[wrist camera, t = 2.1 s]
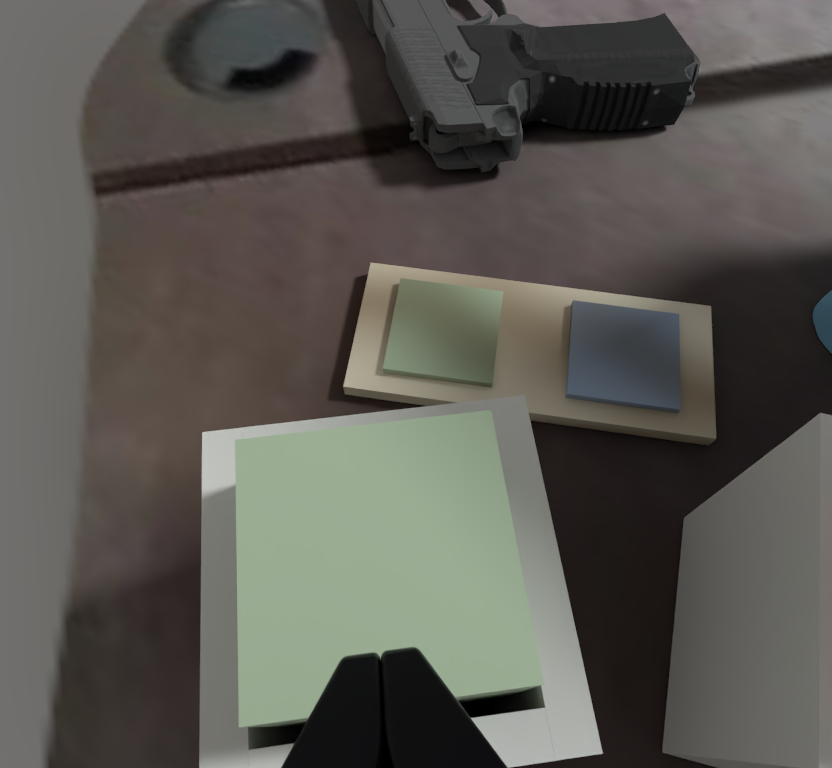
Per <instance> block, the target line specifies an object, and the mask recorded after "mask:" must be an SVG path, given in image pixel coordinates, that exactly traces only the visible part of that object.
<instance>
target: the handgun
mask: <svg viewBox="0 0 832 768" xmlns="http://www.w3.org/2000/svg"><path fill="white" fill-rule="evenodd" d="M484 1H485V2H486V3H487V4H488V5H490V7H491V8H492V9H493V10H494V11H495V12H496V14H497V15H498V17H499V18H498V19H497V20H496V21H494V22H492V23H490V21H491V18H492V11H489V13H488V14H487V15H485V16H484V17H481V18H479V19H476V20H470V21H461V20H458V19H456V18H455V16H454V15H453V13H452V11H451V9H450V8H449V6H448V4H447V2H446V1H445V0H355V2H356V5H357V7H358V9H359V11H360V13H361V16H362V18H363V20H364V22H365V24H366V26H367V29H368V31H369V32H370V33H371V34H372V35H377V37H378V39H379V41H380V43H381V46H382V48H383V50H384V52H385V54H386V70H387V72H388V75H389V77H390V79H391V81H392V83H393V85H394V88H395V90H396V92H397V94H398V96H399V99H400V101H401V103H402V105H403V107H404V109H405V112H406V114H407V116H408V118H409V120H410V126H411V127H413V129H414V131H413V132H411V133H410V140H411V141H414V140H419V142H420V144H421V146H422V147H423V148H424V149H425V150H426V151H428V152H429V153H430V154H431V156H432V158H433V160H434V162H435V164H436V166H437V167H439V168H442V169H445V170H452V169H468V168H478V167H479V168H480V170H481V172H486V171H490V170H491V169H492V168H493V167H494V166H495V165H496V164H498V163H499V162H503V161H510V160H514V161H515V160H516V159H517V157H518V155H519V152H520V149H521V145H522V141H523V130H522V125H524V124H526V123H529V122H531V121H539V122H543V123H548V124H552V125H558V126H563V127H565V128H569V129H573V128H578V129H585V128H587V129H589V130H595V129H598V130H603V129H606V130H614V129H617V130H624V129H632V128H636V129H640V128H648V127H657V126H665V125H674V124H675V122H676V120H677V119H678V117H679V115H680V113H681V111H682V110H683V108H684V107H686V106H690V105H691V103H692V101H693V99H694V97H695V93H694V91H693V90H692V88H693V86H694V84H695V81H696V79H697V76H698V72H699V67H700V61H699V59H698V57H697V56H696V55H695V54H694V52H693V51H692V50H691V49H690V47H689V46H688V45H687V43H686V42H685V41H684V39H683V38H682V37H681V35H680V34H679V32H678V31H677V30H676V28H675V27H674V26H673V24H672V23H671V21H670V20H669V19H668V17H667V16H666V15H665V13H664V14H661V15H659V16H656V17H653V18H648V19H643V20H638V21H628V22H617V23H603V24H587V25H571V26H556V27H538V26H534V25H529V24H525V23H523V22H522V21H521V20H520V19H519V18H518V17H517V16H515V15H512V14H507V11H506V8H505V5H504V3H503V1H502V0H484Z"/></svg>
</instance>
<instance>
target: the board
mask: <svg viewBox="0 0 832 768" xmlns="http://www.w3.org/2000/svg"><path fill="white" fill-rule="evenodd" d="M343 388H344V393H345V394H346V395H353V396H360V397H367V398H374V399H381V400H388V401H395V402H403V403H410V404H417V405H424V406H433V405H442V404H451V403H459V402H468V401H477V400H485V399H495V398H504V397H512V396H521V395H525V398H526V403H527V408H528V412H529V417H530V420H531V421H538V422H545V423H552V424H559V425H566V426H573V427H580V428H588V429H595V430H602V431H609V432H616V433H623V434H630V435H637V436H644V437H652V438H659V439H666V440H673V441H680V442H687V443H694V444H701V445H710V444H711V443H712V442H714V441H715V440H716V415H715V391H714V366H713V342H712V318H711V306H707V305H699V304H691V303H683V302H675V301H668V300H660V299H652V298H644V297H636V296H628V295H621V294H613V293H605V292H597V291H589V290H581V289H574V288H566V287H558V286H550V285H542V284H534V283H527V282H519V281H511V280H503V279H495V278H487V277H479V276H472V275H464V274H456V273H448V272H440V271H432V270H425V269H417V268H409V267H401V266H393V265H385V264H378V263H371V264H370V268H369V273H368V277H367V282H366V286H365V291H364V295H363V300H362V304H361V309H360V313H359V318H358V322H357V327H356V331H355V336H354V340H353V345H352V349H351V354H350V358H349V363H348V367H347V372H346V376H345V381H344V385H343Z"/></svg>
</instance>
